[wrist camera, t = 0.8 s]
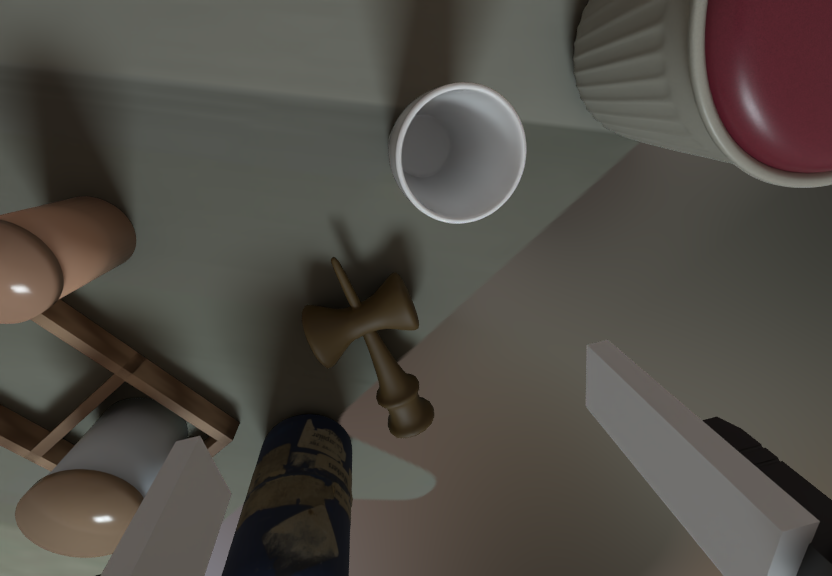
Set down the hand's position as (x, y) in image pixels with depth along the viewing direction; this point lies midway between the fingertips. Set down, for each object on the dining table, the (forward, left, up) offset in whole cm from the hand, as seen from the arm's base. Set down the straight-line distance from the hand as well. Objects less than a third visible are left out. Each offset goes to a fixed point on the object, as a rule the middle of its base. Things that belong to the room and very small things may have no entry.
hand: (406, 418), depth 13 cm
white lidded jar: (-1, -31, -24) cm, 39 cm away
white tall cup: (-4, +8, -24) cm, 26 cm away
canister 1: (+12, -21, -24) cm, 34 cm away
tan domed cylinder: (-16, -17, -24) cm, 33 cm away
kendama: (+8, -7, -24) cm, 26 cm away
